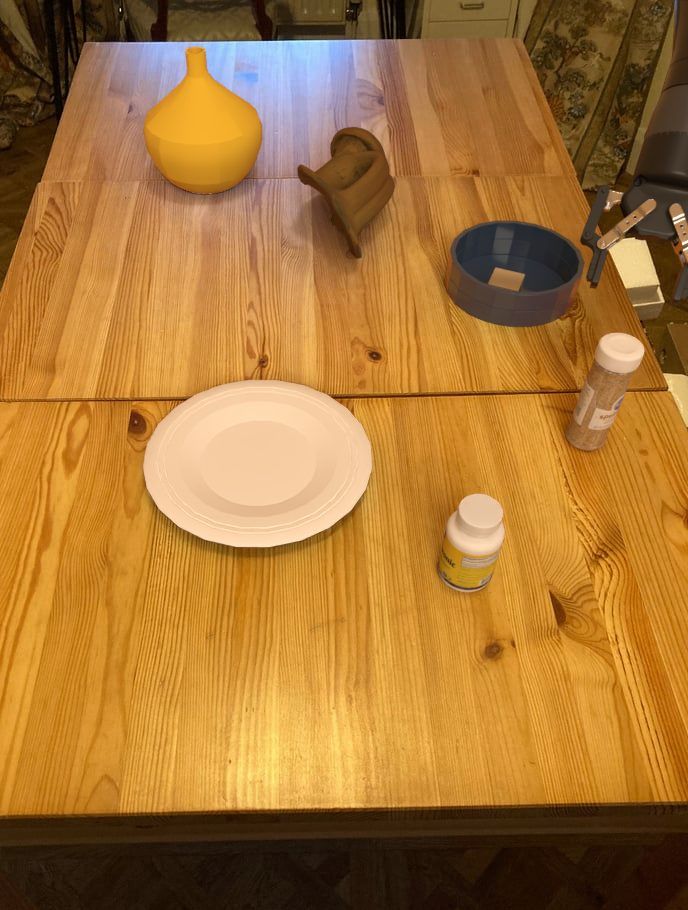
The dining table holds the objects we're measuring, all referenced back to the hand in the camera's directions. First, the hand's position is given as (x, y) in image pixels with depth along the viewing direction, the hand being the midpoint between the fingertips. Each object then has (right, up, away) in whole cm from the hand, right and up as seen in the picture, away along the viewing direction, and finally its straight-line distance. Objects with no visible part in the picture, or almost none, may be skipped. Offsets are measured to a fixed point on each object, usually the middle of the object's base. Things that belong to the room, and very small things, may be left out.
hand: (633, 295), depth 84 cm
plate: (-41, -19, +2) cm, 45 cm away
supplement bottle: (-20, -30, -7) cm, 37 cm away
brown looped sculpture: (-30, +20, +33) cm, 49 cm away
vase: (-52, +30, +41) cm, 73 cm away
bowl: (-8, +7, +22) cm, 24 cm away
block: (-10, +4, +19) cm, 22 cm away
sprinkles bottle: (-4, -15, +4) cm, 16 cm away
